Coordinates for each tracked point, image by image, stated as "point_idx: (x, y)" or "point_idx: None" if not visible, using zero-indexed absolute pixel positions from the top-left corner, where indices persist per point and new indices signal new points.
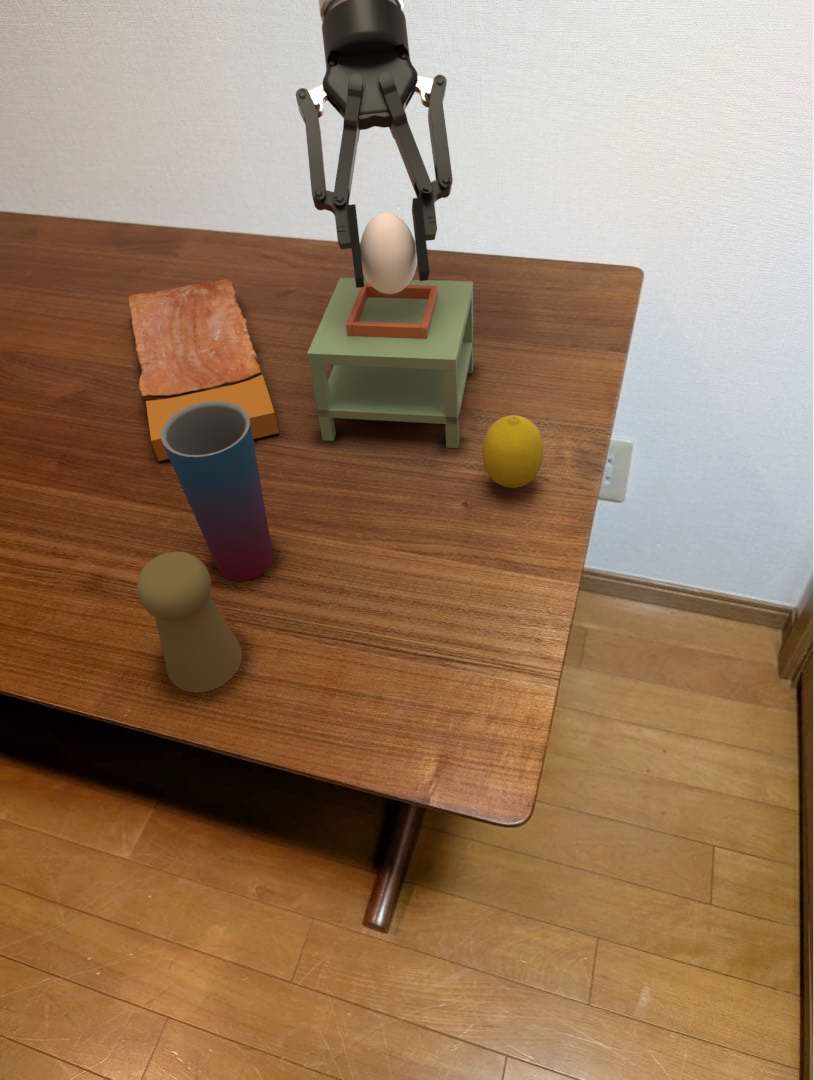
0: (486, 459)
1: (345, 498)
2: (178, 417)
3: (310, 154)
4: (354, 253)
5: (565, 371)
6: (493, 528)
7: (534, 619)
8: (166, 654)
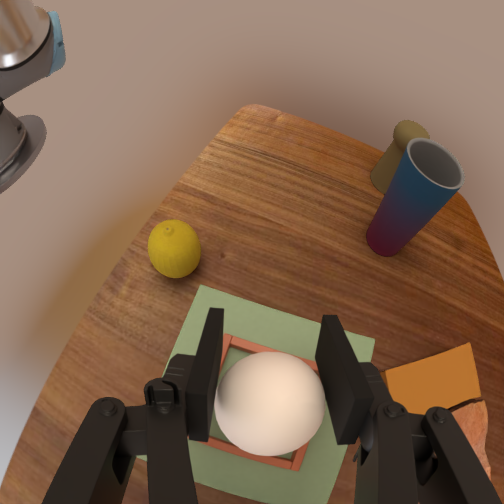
0: (199, 241)
1: (317, 283)
2: (459, 182)
3: (485, 481)
4: (343, 336)
5: (81, 400)
6: (208, 228)
7: (208, 164)
8: None
